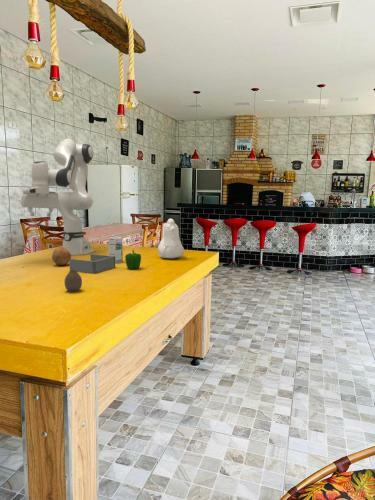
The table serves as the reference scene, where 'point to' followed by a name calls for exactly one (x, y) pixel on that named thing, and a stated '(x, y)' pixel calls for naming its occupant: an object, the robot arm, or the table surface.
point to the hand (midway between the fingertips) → (40, 216)
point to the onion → (61, 256)
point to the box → (93, 264)
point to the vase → (73, 281)
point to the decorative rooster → (170, 241)
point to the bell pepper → (133, 260)
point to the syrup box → (116, 248)
